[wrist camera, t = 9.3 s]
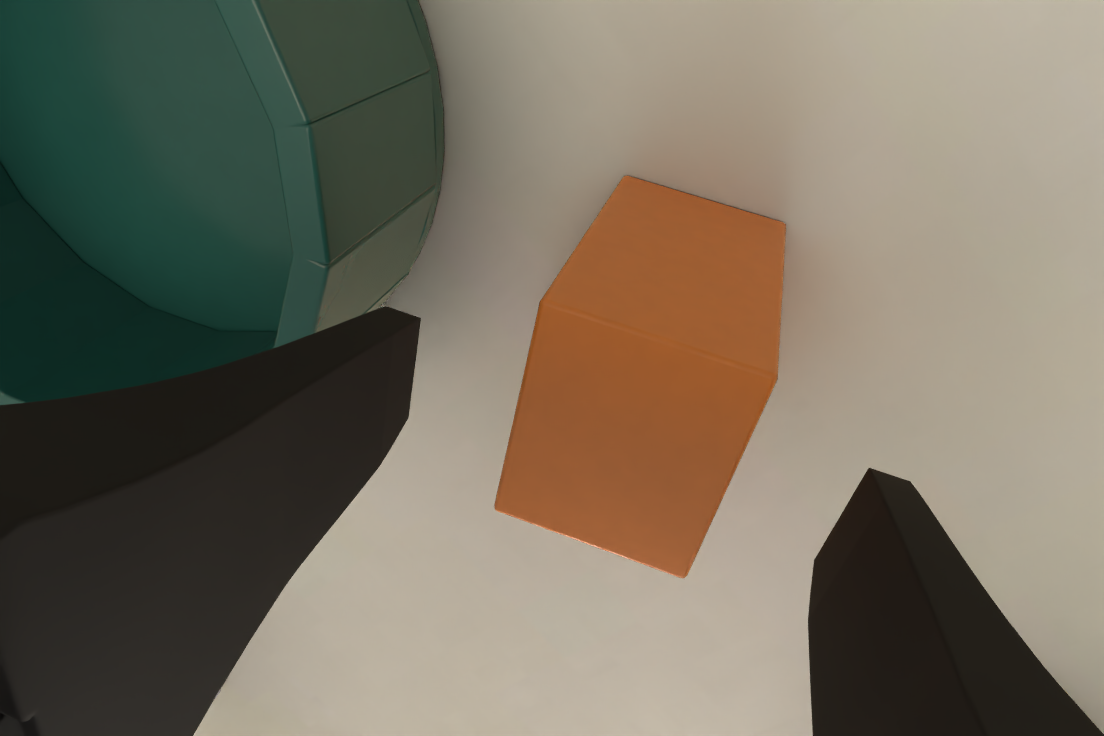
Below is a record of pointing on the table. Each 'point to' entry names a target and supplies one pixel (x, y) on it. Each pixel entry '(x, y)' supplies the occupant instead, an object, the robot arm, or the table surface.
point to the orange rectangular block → (647, 375)
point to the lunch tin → (203, 180)
